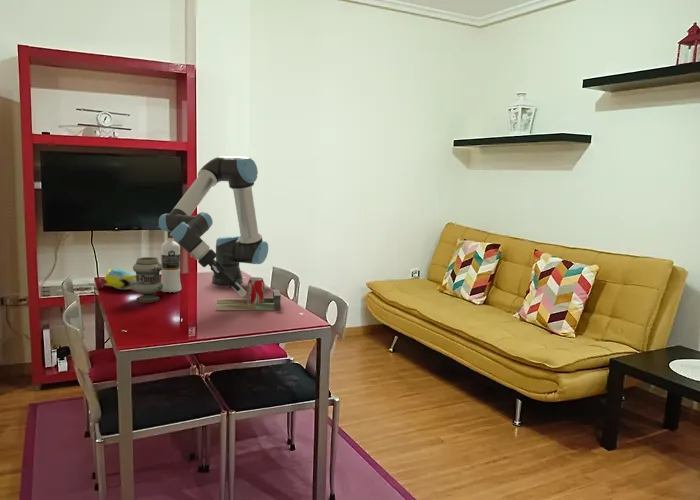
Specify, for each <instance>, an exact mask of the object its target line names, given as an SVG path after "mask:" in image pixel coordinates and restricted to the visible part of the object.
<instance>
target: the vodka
mask: <svg viewBox="0 0 700 500" xmlns="http://www.w3.org/2000/svg"><path fill="white" fill-rule="evenodd" d="M160 251H161V252H160V255H161V258H160V259H161V260H160V261H161V265H162V270H161V271H160V272H161V275H160V282H161V283H162V284H163V289H162V290H161V291H160V292H162V293H166V292H169V293H171V292H173V293H178V292H180V291H181V290H182V284H181V277H180V276H181V275H180V273H181V268H180V267H181V266H180V261H181V260H180V257H181V256H180V255H181V252H180V251H181V245H180V244H179V243H178V242H177V241H176V240H175V239H174V238H173V237H172V235H171V232H167V240H166V241H164V242H163V243H162V244H161V246H160ZM171 294H172V293H171Z"/></svg>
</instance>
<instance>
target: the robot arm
mask: <svg viewBox="0 0 700 500" xmlns="http://www.w3.org/2000/svg"><path fill="white" fill-rule="evenodd" d="M258 171H259V170H258V166H257V164H256V161H254V160H253V158H251V157H247V156H243V155H242V156H233V155H232V156H227V155H221V156H216V157H213V158H212V159H211V160H209V161H208V162H206V163H205V164H204V165H203V166H202V167H201V168H200V169H199V171H198V172H197V177H196V179H195V180H194V181H193V182H192V183H191V185H190V186H189V188H188V189H187V190H186V191H185V193H184V194H183V196H182V197H181V198H180V199H179V201H178V202H177V204H176V205H175V206H174V207H173V209H172V210H171V211H170V212H169V213H164V214H161V215H160V216H159V219H158V226H159V229H160V230H162V231H164V232H167V233H168V232H171V235H172V237H173V239H174V241H175V242H176V243H178V244H179V245H180V247H182V248H183V249H184V250H185V251H186V252H187V253H189V255H190V258H194V260H195V261H197V260H198V261H197V262H198V264H199V265H200V266H201V267H202V268H206V267H207V266H209V267H210V270H211V271H212V272H213V274H212V277H211V283H213V284H219V285H228V288H230V289H231V288H232V289H233V290H234V291H235V292H236V293H237V294H238V295H239V296H240V297H241V298H244V297H245V296H247V290H245V289H244V287H242V286H241V285H240V284H241V283H243V282H244V281H243V280H244V278H243V277H244V276H243V275H242V271H241V268H240V263H242V264H250V265H251V264H252V265H261V264H263V263H264V262H265V261H266V259H267V257H268V253H269V243H268V242H267V241H265V240H263V235H262V234H260V233H259V230H258V223H257V215H256V209H255V203H254V202H255V201H254V196H253V189H252V188H253V187H254V185H255V182H256V181H257V178H258V175H259V174H258ZM220 182H227V183H228V186H229V188H230V189H231V190H232V191H233V196H234V197H233V199H234V203H235V208H236V214H237V221H238V227H239V234H240V236H239V235H230V236H229V235H228V236H221V237H218V238H216V242H215V251H214V250H213V249H212V248H210V246H209V244H207V243H206V241H204V240H203V239H202V238H201V237H202V236H203V235H204V234H205V233H207V232H208V231H209V230H210V228H211V227H212V225H213V222H214V221H213V218H212V216H211V215H210V214H209V213H208V212H204V211H201V212H199V213H197V214H196V215H192V214H193V213H194V211H195V210H196V208H198V206H199V205H200V203H201V202H202V200H203V199H204V198H205V196H206V195H207V194H208V192H210V190H211V188H212V187H215V186H216V185H217V184H218V183H220Z"/></svg>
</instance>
